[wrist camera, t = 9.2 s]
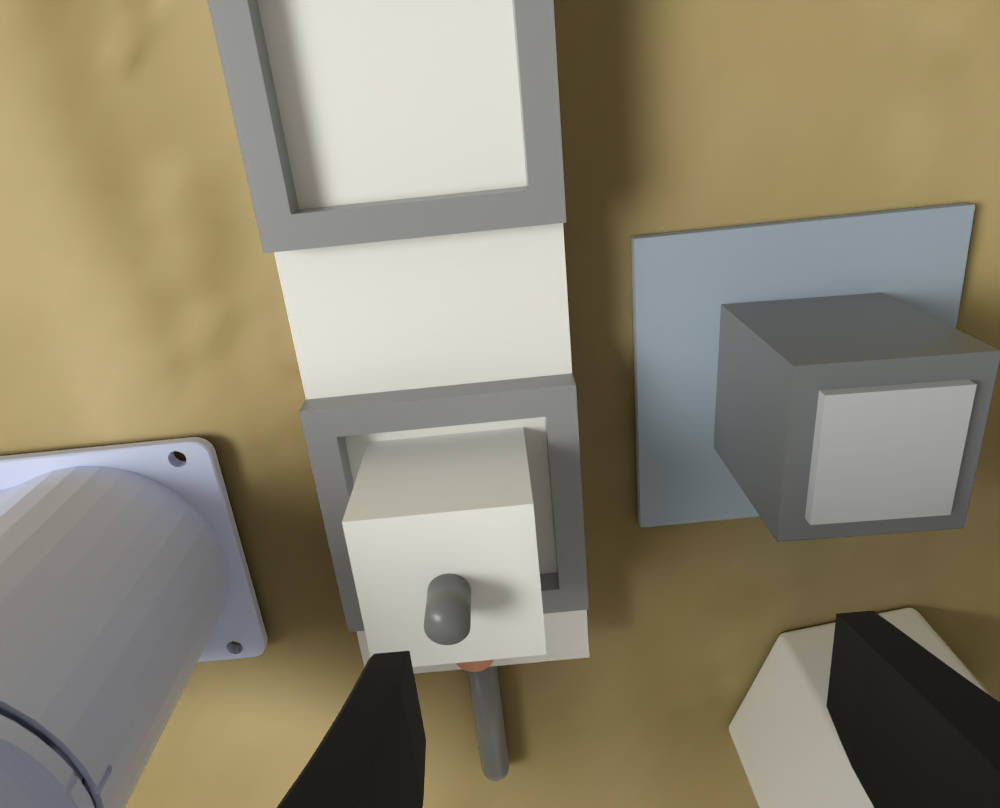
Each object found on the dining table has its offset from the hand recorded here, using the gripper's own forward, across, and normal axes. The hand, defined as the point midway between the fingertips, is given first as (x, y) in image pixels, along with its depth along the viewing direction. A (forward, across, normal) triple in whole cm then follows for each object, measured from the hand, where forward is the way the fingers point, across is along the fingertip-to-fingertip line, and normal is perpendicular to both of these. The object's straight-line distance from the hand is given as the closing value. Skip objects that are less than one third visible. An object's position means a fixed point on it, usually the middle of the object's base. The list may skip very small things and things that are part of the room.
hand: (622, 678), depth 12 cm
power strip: (+10, +3, -1) cm, 11 cm away
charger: (+10, -7, -1) cm, 12 cm away
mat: (+10, -7, -1) cm, 12 cm away
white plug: (+8, +3, +1) cm, 9 cm away
